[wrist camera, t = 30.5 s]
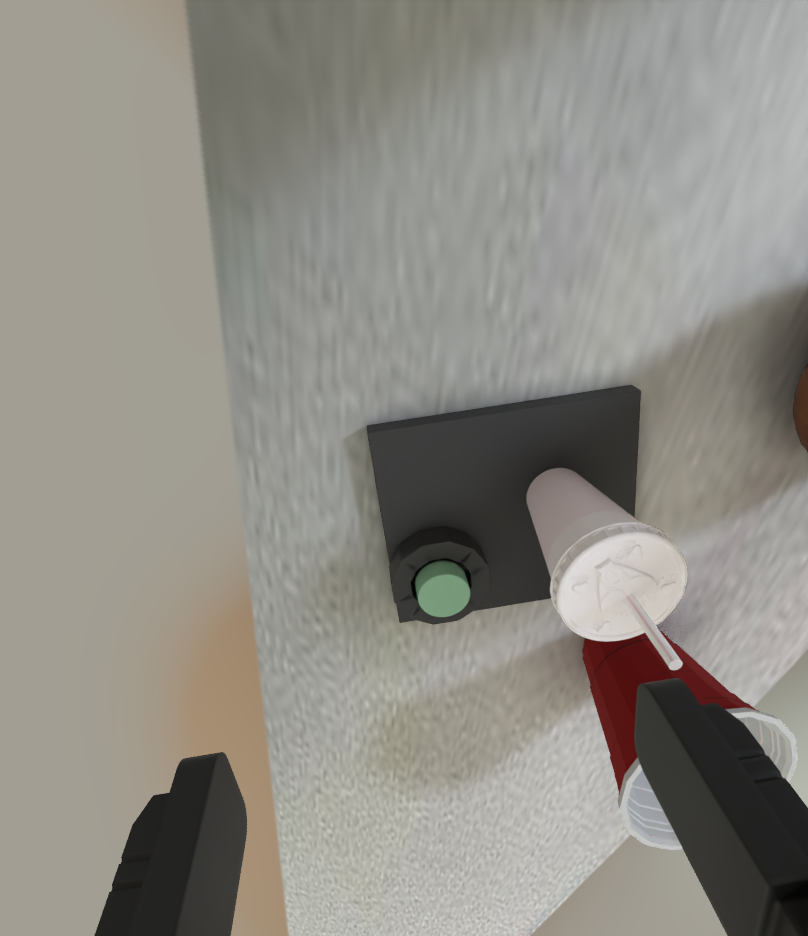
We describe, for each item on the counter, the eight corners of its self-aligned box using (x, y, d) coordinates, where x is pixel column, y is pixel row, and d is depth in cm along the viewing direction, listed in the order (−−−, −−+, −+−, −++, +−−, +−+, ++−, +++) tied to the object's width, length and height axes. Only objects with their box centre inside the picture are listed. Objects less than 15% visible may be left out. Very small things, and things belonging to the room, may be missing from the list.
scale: (366, 425, 34) (367, 445, 31) (632, 384, 34) (656, 400, 32) (397, 611, 40) (401, 641, 37) (623, 575, 40) (643, 602, 38)
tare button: (412, 564, 35) (414, 579, 34) (463, 555, 35) (468, 570, 34) (418, 605, 37) (421, 621, 35) (467, 597, 37) (472, 613, 35)
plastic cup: (710, 655, 44) (828, 802, 34) (584, 716, 46) (658, 875, 35) (664, 557, 40) (782, 691, 29) (527, 629, 42) (590, 780, 31)
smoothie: (539, 555, 37) (637, 737, 25) (484, 489, 35) (562, 653, 22) (624, 499, 36) (772, 660, 24) (573, 426, 34) (708, 562, 21)
